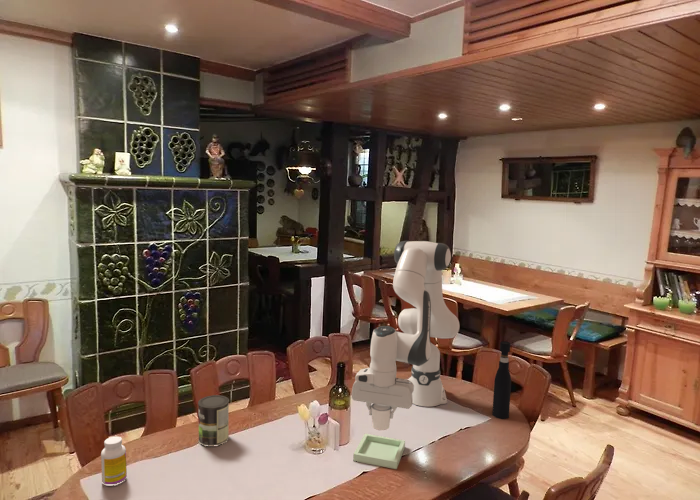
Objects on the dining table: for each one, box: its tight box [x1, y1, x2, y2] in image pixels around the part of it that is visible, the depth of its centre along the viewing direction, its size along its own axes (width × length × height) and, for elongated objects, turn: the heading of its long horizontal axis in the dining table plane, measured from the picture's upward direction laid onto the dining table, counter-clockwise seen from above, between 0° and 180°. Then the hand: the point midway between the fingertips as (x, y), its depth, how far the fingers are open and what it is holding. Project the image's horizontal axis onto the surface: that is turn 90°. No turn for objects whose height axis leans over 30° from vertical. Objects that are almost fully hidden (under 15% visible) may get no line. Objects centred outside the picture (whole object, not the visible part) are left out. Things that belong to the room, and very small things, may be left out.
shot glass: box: [371, 403, 393, 431], centre depth 162 cm, size 7×7×7 cm
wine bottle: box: [492, 340, 512, 420], centre depth 193 cm, size 6×6×30 cm
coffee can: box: [197, 394, 230, 446], centre depth 169 cm, size 10×10×14 cm
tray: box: [353, 433, 406, 470], centre depth 164 cm, size 14×14×2 cm
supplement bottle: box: [100, 436, 128, 484], centre depth 144 cm, size 7×7×13 cm
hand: (381, 416), depth 162 cm, fingers closed on shot glass, 5 cm apart
